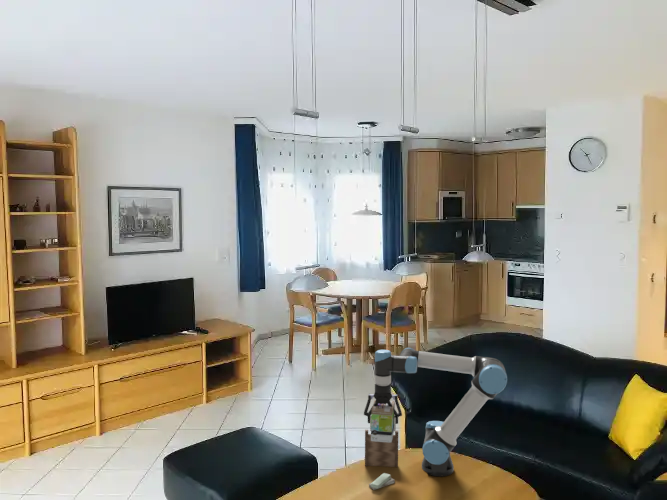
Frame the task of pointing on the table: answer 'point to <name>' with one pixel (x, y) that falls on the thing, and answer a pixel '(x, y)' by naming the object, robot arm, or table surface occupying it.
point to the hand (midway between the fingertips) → (382, 430)
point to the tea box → (382, 422)
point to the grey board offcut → (384, 483)
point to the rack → (381, 452)
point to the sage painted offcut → (380, 480)
